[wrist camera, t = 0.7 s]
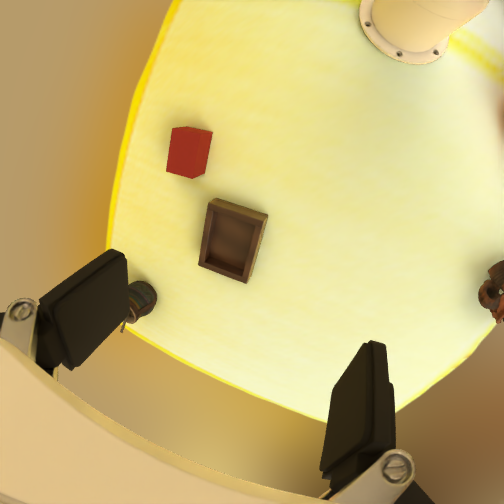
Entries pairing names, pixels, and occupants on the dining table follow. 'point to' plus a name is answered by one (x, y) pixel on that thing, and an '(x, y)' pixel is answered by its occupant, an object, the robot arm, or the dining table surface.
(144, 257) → the dining table surface
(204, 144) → the red block
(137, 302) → the mate gourd
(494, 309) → the pottery mug
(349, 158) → the dining table surface
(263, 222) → the brown shallow rectangular box
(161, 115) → the dining table surface
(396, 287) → the dining table surface
